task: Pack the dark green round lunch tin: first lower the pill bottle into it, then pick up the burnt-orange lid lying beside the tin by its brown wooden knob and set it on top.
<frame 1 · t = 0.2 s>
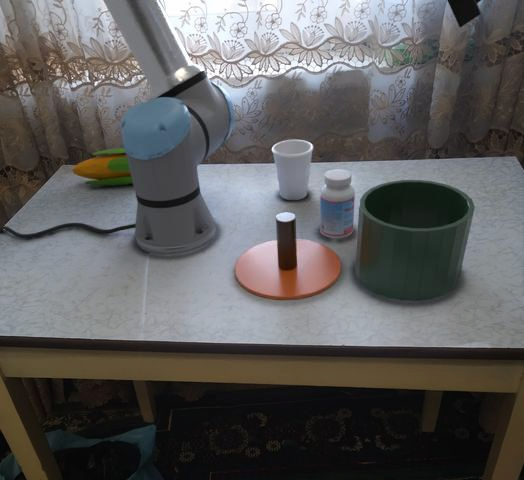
hand: (477, 9, 72), 35 cm above the table, tool tilted 35°, fingers open, 13 cm apart
tin: (405, 273, 87), on the table
corn: (118, 183, 122), on the table
tin lid: (287, 268, 89), point 1 cm above the table
pill bottle: (336, 233, 99), on the table
dixie cup: (293, 194, 112), on the table
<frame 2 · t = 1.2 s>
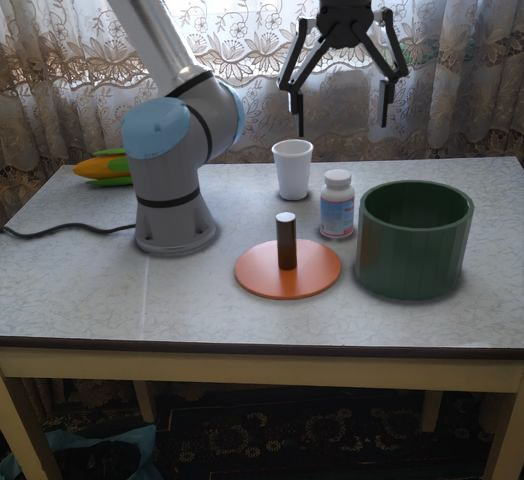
hand: (340, 129, 86), 19 cm above the table, tool pointing down, fingers open, 13 cm apart
nothing on the table moved.
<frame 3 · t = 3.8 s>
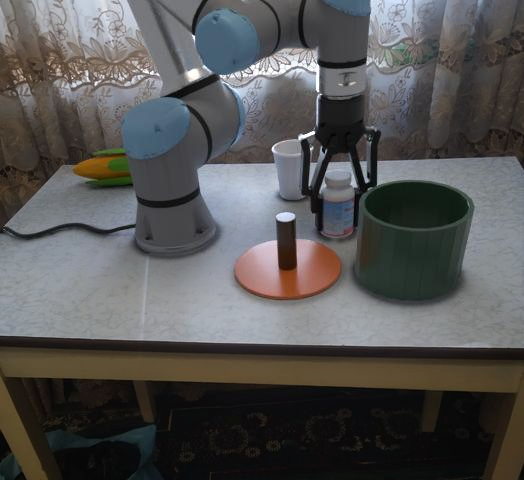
hand: (336, 225, 97), 1 cm above the table, tool pointing down, fingers closed on pill bottle, 6 cm apart
pill bottle: (336, 233, 99), on the table, touching gripper
everything else where it was.
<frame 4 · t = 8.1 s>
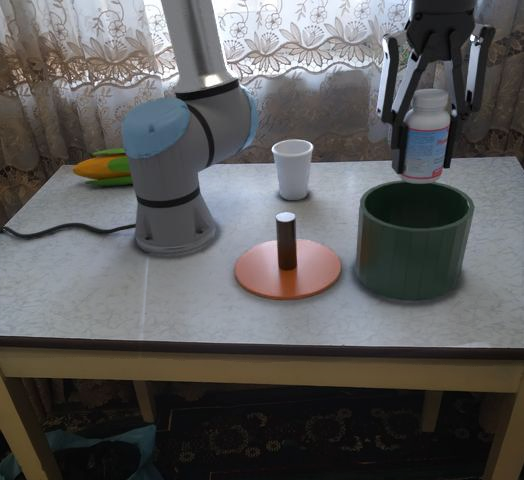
hand: (420, 167, 75), 18 cm above the table, tool pointing down, fingers closed on pill bottle, 6 cm apart
pill bottle: (419, 177, 76), point 16 cm above the table, touching gripper
everything else where it was.
when the fingers open (2 cm above the table, at t = 12.4 s): pill bottle stays where it is, resting on tin.
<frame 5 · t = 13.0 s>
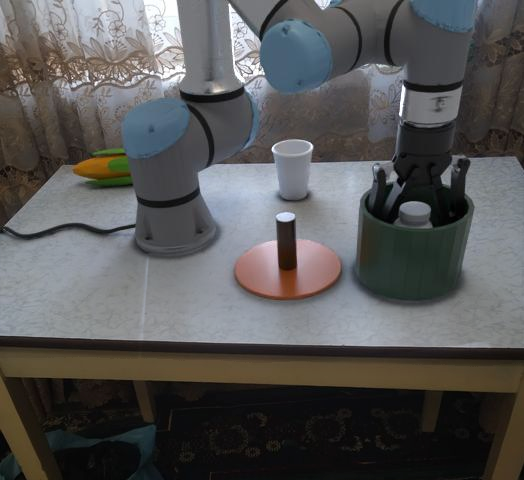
hand: (407, 263, 86), 2 cm above the table, tool pointing down, fingers open, 8 cm apart
pill bottle: (406, 272, 87), resting on tin
everything else where it was.
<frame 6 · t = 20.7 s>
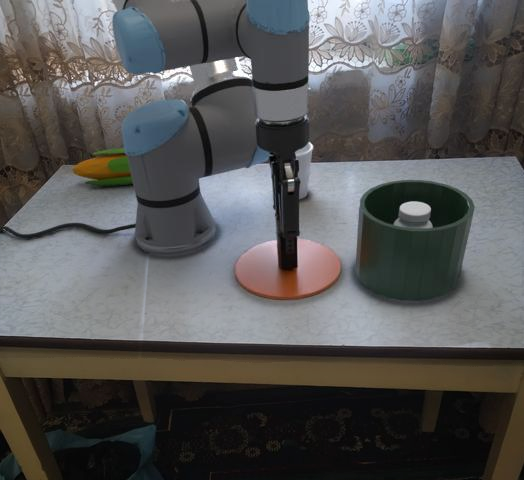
hand: (287, 261, 88), 2 cm above the table, tool pointing down, fingers closed on tin lid, 3 cm apart
tin lid: (287, 268, 89), point 1 cm above the table, touching gripper
everything else where it was.
when the fingers open (14 cm above the table, at t = 29.2 s): tin lid stays where it is, resting on tin.
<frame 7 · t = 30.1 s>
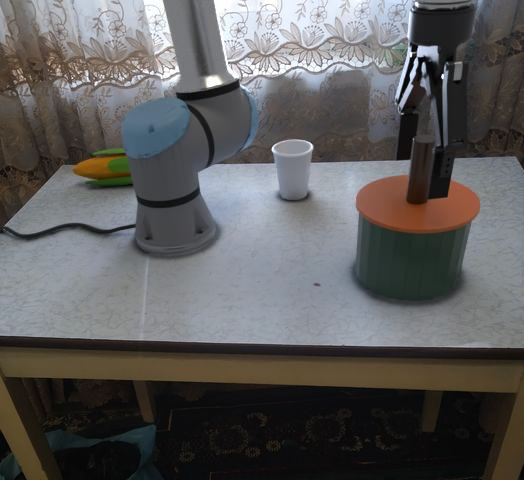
hand: (419, 177, 76), 17 cm above the table, tool pointing down, fingers open, 13 cm apart
tin lid: (416, 203, 79), point 12 cm above the table, touching tin
everything else where it was.
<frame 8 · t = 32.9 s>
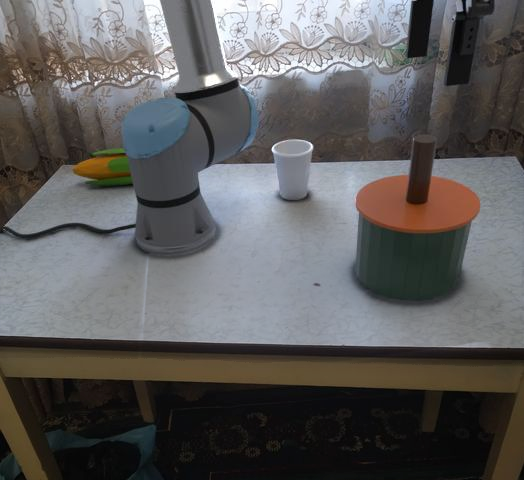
hand: (434, 69, 66), 31 cm above the table, tool pointing down, fingers open, 13 cm apart
nothing on the table moved.
at the end: pill bottle inside the target area in the tin (0.0 cm from its centre), point 0.3 cm above the tin's base; tin lid 0.0 cm off-centre on the tin, point 12.5 cm above the tin's base; tin lid tilted 0° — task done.
